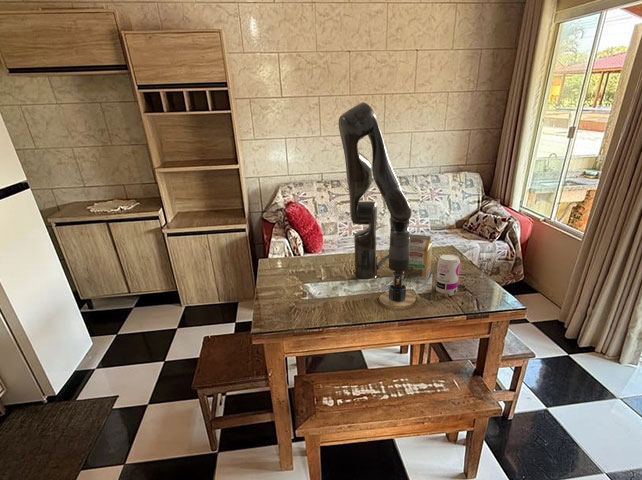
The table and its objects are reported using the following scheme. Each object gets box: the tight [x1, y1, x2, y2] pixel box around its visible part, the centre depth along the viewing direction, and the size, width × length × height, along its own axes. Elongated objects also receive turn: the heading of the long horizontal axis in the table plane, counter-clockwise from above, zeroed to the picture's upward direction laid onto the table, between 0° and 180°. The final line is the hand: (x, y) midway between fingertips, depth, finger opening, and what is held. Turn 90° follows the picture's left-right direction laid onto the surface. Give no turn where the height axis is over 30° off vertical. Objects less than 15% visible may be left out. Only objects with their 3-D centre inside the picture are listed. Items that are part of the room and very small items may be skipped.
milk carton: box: [402, 233, 433, 281], centre depth 175 cm, size 11×11×19 cm
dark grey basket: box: [388, 283, 413, 302], centre depth 156 cm, size 8×6×5 cm
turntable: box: [378, 291, 416, 307], centre depth 158 cm, size 14×14×2 cm
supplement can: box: [435, 253, 461, 297], centre depth 160 cm, size 8×8×15 cm
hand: (397, 297), depth 157 cm, fingers closed on dark grey basket, 6 cm apart
